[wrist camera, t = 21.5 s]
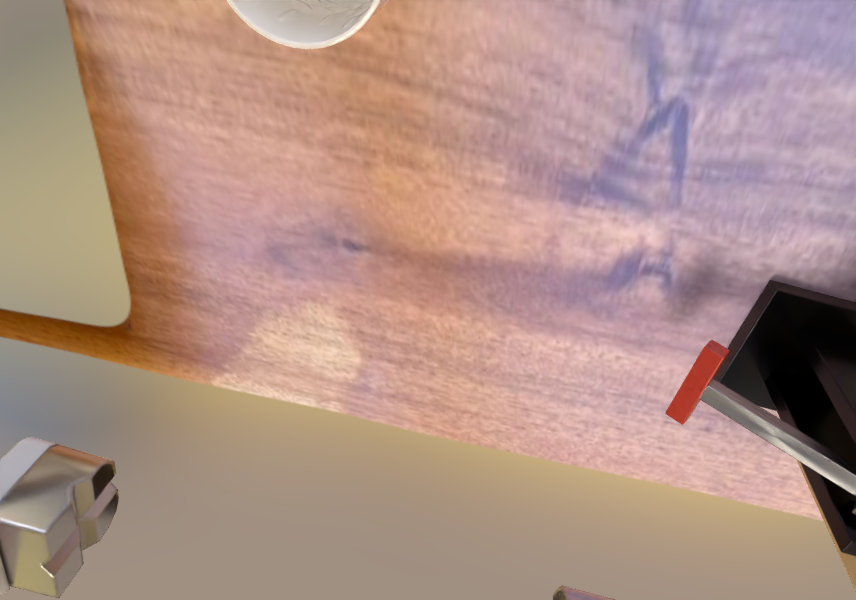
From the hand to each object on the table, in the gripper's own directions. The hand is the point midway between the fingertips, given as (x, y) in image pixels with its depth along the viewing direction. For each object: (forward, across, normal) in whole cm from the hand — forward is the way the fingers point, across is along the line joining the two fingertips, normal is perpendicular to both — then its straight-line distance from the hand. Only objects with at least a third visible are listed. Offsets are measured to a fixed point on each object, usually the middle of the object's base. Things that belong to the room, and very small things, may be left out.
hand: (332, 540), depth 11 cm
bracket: (+31, -26, +11) cm, 42 cm away
